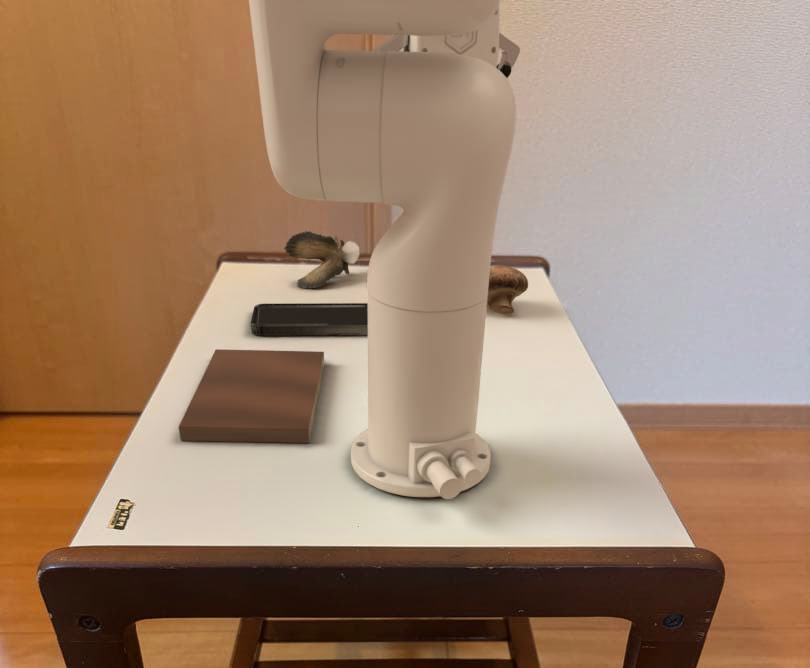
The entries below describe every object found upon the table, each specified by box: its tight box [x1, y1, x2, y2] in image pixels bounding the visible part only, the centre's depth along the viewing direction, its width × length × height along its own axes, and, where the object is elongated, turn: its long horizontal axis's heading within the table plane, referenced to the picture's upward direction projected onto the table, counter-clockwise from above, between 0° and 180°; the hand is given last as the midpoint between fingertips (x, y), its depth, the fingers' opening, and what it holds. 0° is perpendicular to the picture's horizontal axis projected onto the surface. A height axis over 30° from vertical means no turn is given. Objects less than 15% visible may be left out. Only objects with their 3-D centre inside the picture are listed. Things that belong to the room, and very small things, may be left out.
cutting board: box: [178, 348, 325, 444], centre depth 80 cm, size 18×12×2 cm, turn 0°
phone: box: [250, 302, 368, 336], centre depth 97 cm, size 8×1×15 cm
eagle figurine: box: [283, 230, 361, 289], centre depth 110 cm, size 8×7×9 cm
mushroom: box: [487, 264, 529, 314], centre depth 102 cm, size 8×8×6 cm
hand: (445, 131), depth 92 cm, fingers open, 9 cm apart
